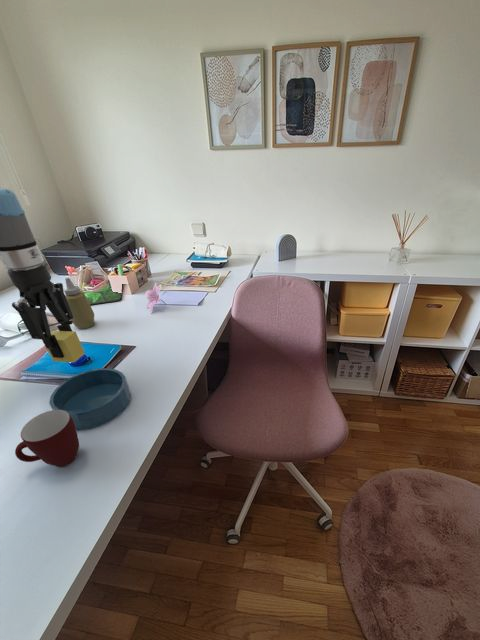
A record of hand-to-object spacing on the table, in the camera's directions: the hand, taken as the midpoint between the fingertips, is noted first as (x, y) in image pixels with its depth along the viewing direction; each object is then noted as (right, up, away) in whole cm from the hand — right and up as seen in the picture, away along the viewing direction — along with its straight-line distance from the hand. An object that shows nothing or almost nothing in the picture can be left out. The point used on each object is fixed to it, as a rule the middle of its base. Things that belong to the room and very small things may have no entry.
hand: (65, 351), depth 81 cm
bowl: (+11, -13, -6) cm, 18 cm away
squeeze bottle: (-12, +9, +30) cm, 33 cm away
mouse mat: (-22, +26, +55) cm, 65 cm away
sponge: (0, -2, +1) cm, 2 cm away
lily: (+10, +17, +41) cm, 46 cm away
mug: (+12, -23, -20) cm, 32 cm away
